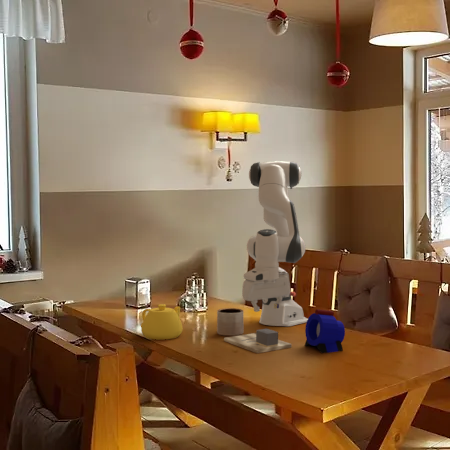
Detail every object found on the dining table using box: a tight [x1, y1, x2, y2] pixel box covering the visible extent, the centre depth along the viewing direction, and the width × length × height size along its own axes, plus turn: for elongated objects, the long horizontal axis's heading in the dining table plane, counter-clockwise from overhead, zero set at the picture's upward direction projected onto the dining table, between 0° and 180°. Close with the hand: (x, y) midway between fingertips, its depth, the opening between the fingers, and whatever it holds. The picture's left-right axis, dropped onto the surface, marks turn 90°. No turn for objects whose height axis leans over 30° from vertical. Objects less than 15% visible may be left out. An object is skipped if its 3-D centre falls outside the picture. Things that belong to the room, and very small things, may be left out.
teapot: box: [140, 303, 183, 341], centre depth 263 cm, size 20×19×13 cm
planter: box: [216, 307, 245, 337], centre depth 264 cm, size 11×11×10 cm
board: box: [223, 332, 293, 354], centre depth 247 cm, size 16×22×1 cm
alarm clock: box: [304, 308, 346, 354], centre depth 241 cm, size 12×12×15 cm
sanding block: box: [255, 328, 279, 347], centre depth 242 cm, size 5×7×5 cm
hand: (266, 309), depth 242 cm, fingers open, 8 cm apart
